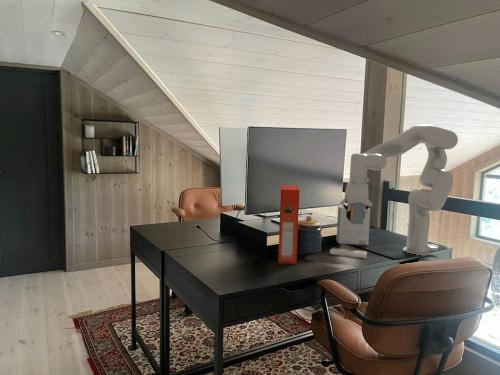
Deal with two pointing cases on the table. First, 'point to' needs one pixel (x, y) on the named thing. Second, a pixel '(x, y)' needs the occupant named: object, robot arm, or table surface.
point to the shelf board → (348, 252)
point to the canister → (309, 236)
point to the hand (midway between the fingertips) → (355, 219)
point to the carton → (357, 213)
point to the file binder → (288, 224)
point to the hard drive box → (352, 229)
